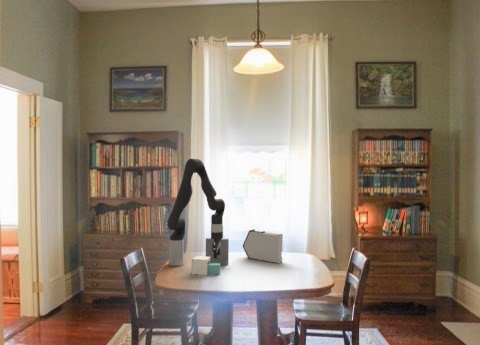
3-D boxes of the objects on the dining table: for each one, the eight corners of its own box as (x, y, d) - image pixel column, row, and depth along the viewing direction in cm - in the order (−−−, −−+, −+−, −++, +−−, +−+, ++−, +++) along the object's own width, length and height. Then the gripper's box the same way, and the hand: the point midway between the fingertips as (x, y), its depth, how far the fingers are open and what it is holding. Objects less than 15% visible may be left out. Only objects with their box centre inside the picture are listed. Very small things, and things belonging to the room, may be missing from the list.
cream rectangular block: (191, 274, 218) (191, 259, 218) (195, 270, 226) (195, 256, 226) (207, 275, 216) (207, 259, 216) (210, 271, 224) (210, 256, 224)
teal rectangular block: (197, 274, 218) (197, 265, 218) (198, 272, 223) (198, 263, 223) (219, 274, 218) (219, 265, 218) (220, 272, 223) (220, 263, 223)
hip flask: (228, 263, 244) (228, 235, 243) (227, 265, 239) (228, 236, 239) (205, 263, 245) (206, 234, 245) (204, 264, 241) (205, 235, 241)
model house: (284, 232, 252) (248, 227, 268) (279, 233, 245) (242, 229, 261) (283, 261, 253) (248, 255, 269) (278, 264, 245) (242, 257, 261)
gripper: (213, 228, 227) (213, 253, 227) (208, 232, 213) (208, 259, 213) (225, 229, 226) (225, 254, 226) (220, 232, 212) (220, 259, 212)
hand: (217, 256), depth 219 cm, fingers open, 8 cm apart
